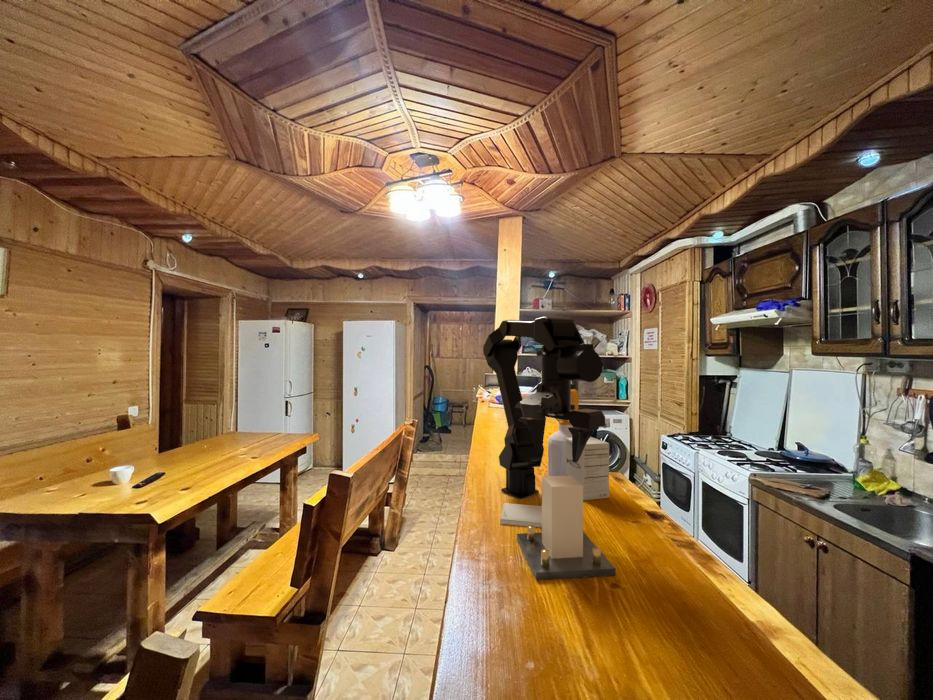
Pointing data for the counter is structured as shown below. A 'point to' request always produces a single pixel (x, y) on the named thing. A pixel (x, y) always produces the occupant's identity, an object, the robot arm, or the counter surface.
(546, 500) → the cream block
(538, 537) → the chassis plate
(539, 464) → the robot arm
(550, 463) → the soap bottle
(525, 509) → the hard drive
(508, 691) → the counter surface
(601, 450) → the supplement box
